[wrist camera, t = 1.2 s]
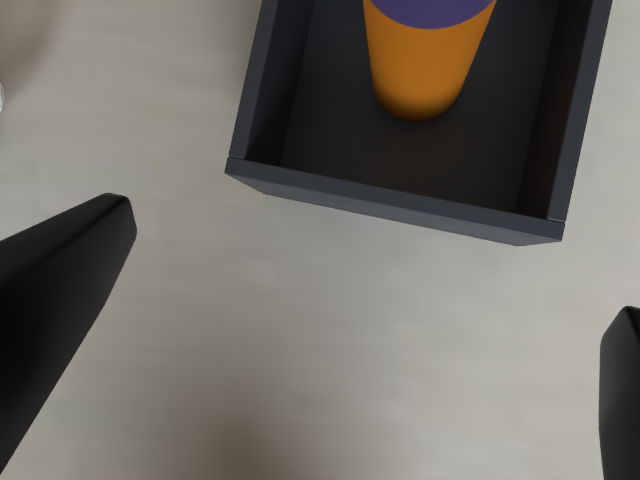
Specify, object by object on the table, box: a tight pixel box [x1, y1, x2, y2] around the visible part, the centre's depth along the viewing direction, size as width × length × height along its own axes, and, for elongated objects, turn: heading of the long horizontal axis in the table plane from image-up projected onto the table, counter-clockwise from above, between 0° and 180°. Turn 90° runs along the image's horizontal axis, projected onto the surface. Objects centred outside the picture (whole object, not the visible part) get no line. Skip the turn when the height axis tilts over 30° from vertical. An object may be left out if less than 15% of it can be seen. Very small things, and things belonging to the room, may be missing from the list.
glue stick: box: [363, 0, 497, 121], centre depth 17 cm, size 4×4×12 cm
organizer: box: [225, 0, 612, 246], centre depth 20 cm, size 12×11×6 cm
